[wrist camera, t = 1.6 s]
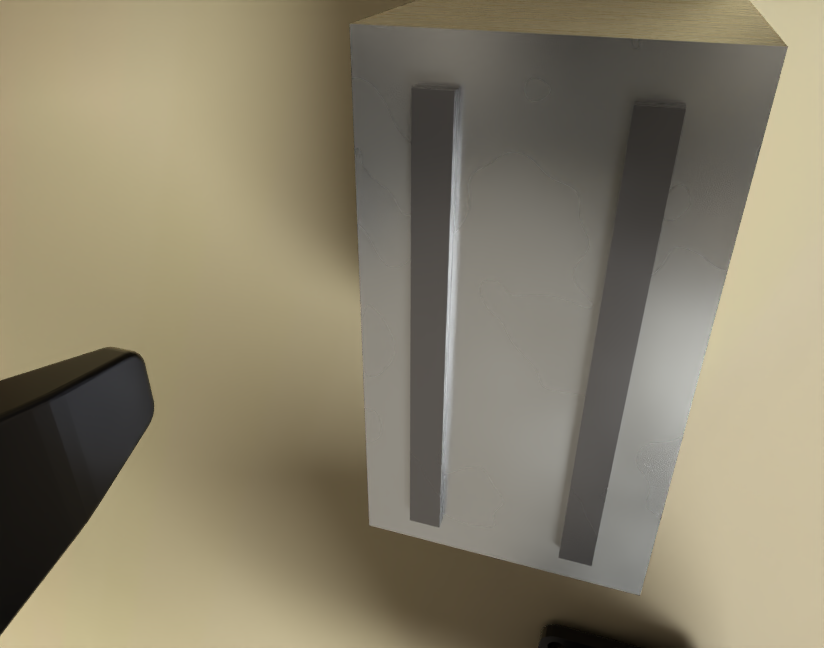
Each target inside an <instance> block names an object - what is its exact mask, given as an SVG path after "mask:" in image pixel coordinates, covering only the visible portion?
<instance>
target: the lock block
mask: <svg viewBox="0 0 824 648" xmlns="http://www.w3.org/2000/svg"><path fill="white" fill-rule="evenodd" d="M787 48H788V46H787V45H786V44H785V43H784V41H783V40H782V39H781V38H780V37H779V35H778V34H777V33H776V32H775V31H774V29H773V28H772V27H771V26H770V25H769V23H768V22H767V21H766V20H765V19H764V17H763V16H762V15H761V14H760V13H759V11H758V10H757V9H756V8H755V7H754V5H753V4H752V3H751V2H750V1H749V0H417V1H414V2H411V3H408V4H405V5H402V6H399V7H396V8H393V9H391V10H388V11H385V12H382V13H379V14H376V15H373V16H370V17H367V18H364V19H361V20H359V21H356V22H353V23H350V50H351V75H352V100H353V126H354V151H355V176H356V202H357V227H358V252H359V277H360V303H361V328H362V353H363V379H364V404H365V429H366V454H367V480H368V505H369V525H370V526H373V527H377V528H381V529H385V530H389V531H393V532H397V533H400V534H404V535H408V536H412V537H416V538H420V539H424V540H427V541H431V542H435V543H439V544H443V545H447V546H451V547H454V548H458V549H462V550H466V551H470V552H474V553H478V554H481V555H485V556H489V557H493V558H497V559H501V560H505V561H508V562H512V563H516V564H520V565H524V566H528V567H532V568H535V569H539V570H543V571H547V572H551V573H555V574H559V575H562V576H566V577H570V578H574V579H578V580H582V581H586V582H589V583H593V584H597V585H601V586H605V587H609V588H613V589H616V590H620V591H624V592H628V593H632V594H636V595H639V596H640V594H641V590H642V587H643V583H644V579H645V575H646V572H647V568H648V564H649V561H650V557H651V553H652V549H653V546H654V542H655V538H656V535H657V531H658V527H659V523H660V520H661V516H662V512H663V509H664V505H665V501H666V497H667V494H668V490H669V486H670V483H671V479H672V475H673V471H674V468H675V464H676V460H677V457H678V453H679V449H680V445H681V442H682V438H683V434H684V431H685V427H686V423H687V419H688V416H689V412H690V408H691V405H692V401H693V397H694V393H695V390H696V386H697V382H698V379H699V375H700V371H701V367H702V364H703V360H704V356H705V353H706V349H707V345H708V341H709V338H710V334H711V330H712V327H713V323H714V319H715V315H716V312H717V308H718V304H719V301H720V297H721V293H722V289H723V286H724V282H725V278H726V274H727V271H728V267H729V263H730V260H731V256H732V252H733V248H734V245H735V241H736V237H737V234H738V230H739V226H740V222H741V219H742V215H743V211H744V208H745V204H746V200H747V196H748V193H749V189H750V185H751V182H752V178H753V174H754V170H755V167H756V163H757V159H758V156H759V152H760V148H761V144H762V141H763V137H764V133H765V130H766V126H767V122H768V118H769V115H770V111H771V107H772V104H773V100H774V96H775V92H776V89H777V85H778V81H779V78H780V74H781V70H782V66H783V63H784V59H785V55H786V52H787Z"/></svg>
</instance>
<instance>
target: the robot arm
mask: <svg viewBox="0 0 824 648" xmlns="http://www.w3.org/2000/svg"><path fill="white" fill-rule="evenodd" d="M153 413H154V400H153V396H152V392H151V387H150V383H149V379H148V375H147V370H146V366H145V362H144V360H143V358H142V357H141V356H140V354H138V353H136V352H134V351H130V350H125V349H120V348H115V347H106V348H102V349H99V350H96V351H93V352H90V353H86V354H83V355H80V356H77V357H74V358H71V359H67V360H64V361H61V362H58V363H55V364H51V365H48V366H45V367H42V368H39V369H36V370H32V371H29V372H26V373H23V374H20V375H17V376H13V377H10V378H7V379H4V380H1V381H0V636H1V634H2V633H3V632H4V630H5V629H6V628H7V626H8V625H9V624H10V623H11V621H12V620H13V619H14V617H15V616H16V615H17V613H18V612H19V611H20V610H21V608H22V607H23V606H24V604H25V603H26V602H27V600H28V599H29V598H30V597H31V595H32V594H33V593H34V591H35V590H36V589H37V587H38V586H39V585H40V584H41V582H42V581H43V580H44V578H45V577H46V576H47V574H48V573H49V572H50V571H51V569H52V568H53V567H54V565H55V564H56V563H57V561H58V560H59V559H60V558H61V556H62V555H63V554H64V552H65V551H66V550H67V548H68V547H69V546H70V545H71V543H72V542H73V541H74V539H75V538H76V537H77V535H78V534H79V533H80V531H81V530H82V529H83V527H84V526H85V524H86V523H87V522H88V520H89V519H90V517H91V516H92V514H93V513H94V511H95V510H96V508H97V507H98V505H99V504H100V502H101V501H102V499H103V497H104V496H105V494H106V493H107V491H108V489H109V488H110V486H111V485H112V483H113V481H114V480H115V478H116V477H117V475H118V474H119V472H120V470H121V469H122V467H123V466H124V464H125V462H126V461H127V459H128V458H129V456H130V454H131V453H132V451H133V450H134V448H135V446H136V445H137V443H138V442H139V440H140V438H141V437H142V435H143V434H144V432H145V431H146V429H147V427H148V426H149V424H150V422H151V420H152V417H153ZM538 648H639V647H636V646H632V645H629V644H625V643H621V642H618V641H614V640H611V639H607V638H603V637H600V636H596V635H593V634H589V633H586V632H582V631H578V630H575V629H571V628H568V627H564V626H561V625H554V624H552V625H547V626H545V627H543V629H542V631H541V635H540V641H539V646H538Z"/></svg>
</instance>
